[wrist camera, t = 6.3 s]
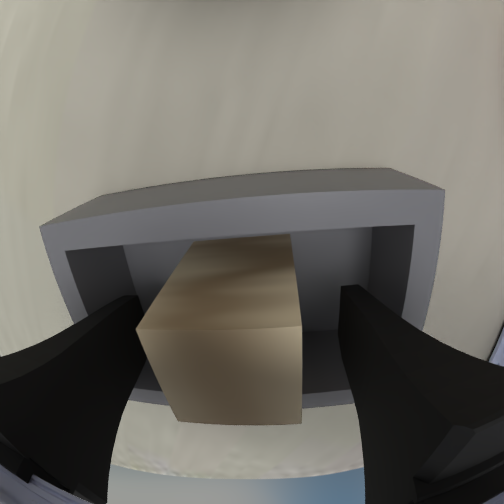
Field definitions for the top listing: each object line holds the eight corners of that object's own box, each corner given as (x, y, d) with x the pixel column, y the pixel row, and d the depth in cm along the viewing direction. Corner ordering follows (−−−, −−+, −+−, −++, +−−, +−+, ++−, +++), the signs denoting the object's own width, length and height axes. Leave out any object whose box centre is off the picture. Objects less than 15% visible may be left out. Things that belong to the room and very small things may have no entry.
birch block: (290, 233, 12) (301, 325, 6) (294, 315, 13) (301, 423, 8) (193, 241, 12) (135, 328, 7) (210, 319, 14) (177, 421, 8)
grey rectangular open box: (389, 167, 11) (445, 189, 7) (376, 332, 14) (401, 394, 10) (101, 195, 12) (39, 226, 8) (143, 340, 15) (113, 397, 11)
